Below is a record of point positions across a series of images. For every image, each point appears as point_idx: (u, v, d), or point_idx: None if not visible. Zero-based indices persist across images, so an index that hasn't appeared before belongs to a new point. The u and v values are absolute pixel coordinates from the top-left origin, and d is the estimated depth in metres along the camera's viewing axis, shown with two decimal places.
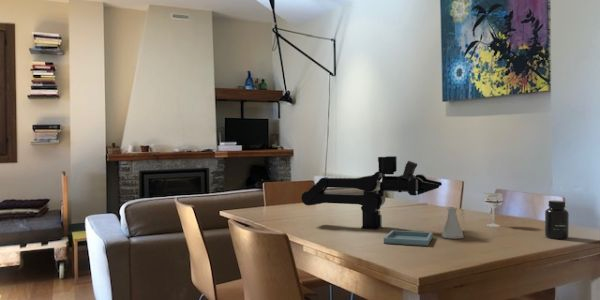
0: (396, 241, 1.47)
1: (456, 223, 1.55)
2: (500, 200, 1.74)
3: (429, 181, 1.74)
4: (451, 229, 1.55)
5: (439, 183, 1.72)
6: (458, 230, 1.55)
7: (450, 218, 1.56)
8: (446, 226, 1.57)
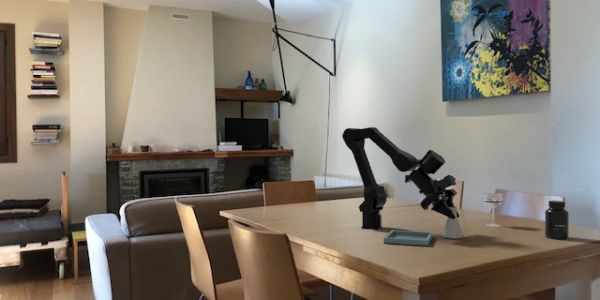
0: (396, 241, 1.47)
1: (456, 223, 1.55)
2: (500, 200, 1.74)
3: (451, 205, 1.59)
4: (451, 229, 1.55)
5: (457, 215, 1.58)
6: (458, 230, 1.55)
7: (450, 218, 1.56)
8: (446, 226, 1.57)
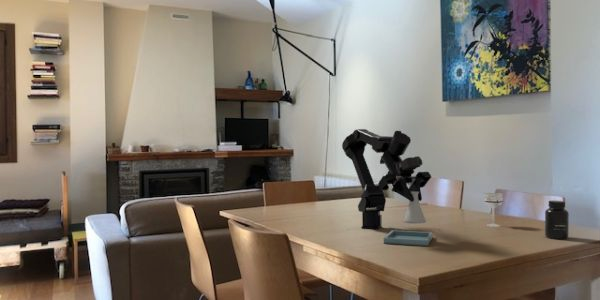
0: (396, 241, 1.47)
1: (415, 208, 1.51)
2: (500, 200, 1.74)
3: (416, 188, 1.55)
4: (409, 214, 1.51)
5: (419, 198, 1.53)
6: (416, 215, 1.50)
7: (410, 202, 1.52)
8: (407, 210, 1.53)
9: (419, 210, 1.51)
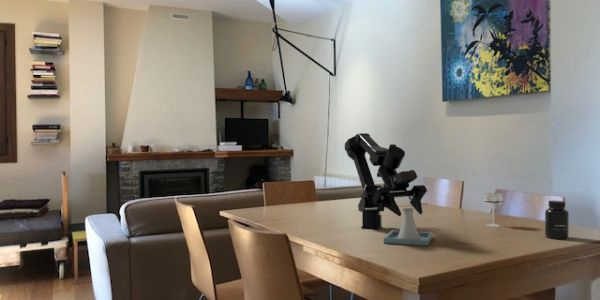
0: (396, 241, 1.47)
1: (408, 225, 1.51)
2: (500, 200, 1.74)
3: (416, 201, 1.55)
4: (403, 231, 1.51)
5: (420, 211, 1.53)
6: (409, 232, 1.50)
7: (404, 219, 1.52)
8: None
9: (413, 227, 1.51)
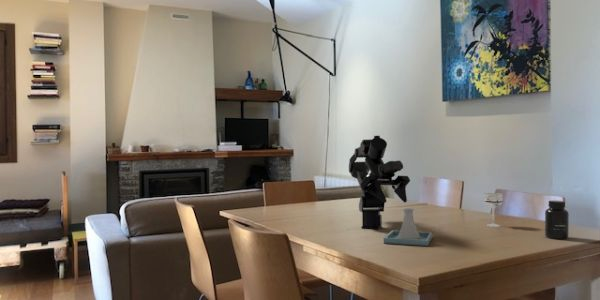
0: (396, 241, 1.47)
1: (408, 225, 1.51)
2: (500, 200, 1.74)
3: (402, 190, 1.65)
4: (403, 231, 1.51)
5: (404, 199, 1.63)
6: (409, 232, 1.50)
7: (404, 219, 1.52)
8: None
9: (413, 227, 1.51)
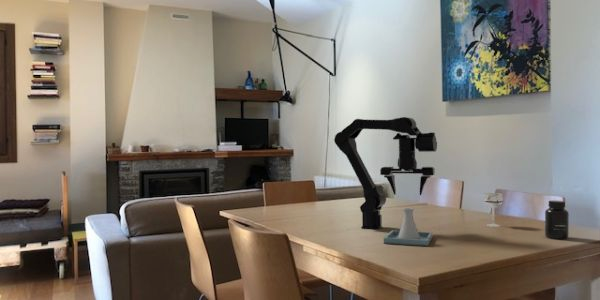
0: (396, 241, 1.47)
1: (408, 225, 1.51)
2: (500, 200, 1.74)
3: (394, 182, 1.73)
4: (403, 231, 1.51)
5: (395, 192, 1.72)
6: (409, 232, 1.50)
7: (404, 219, 1.52)
8: None
9: (413, 227, 1.51)
